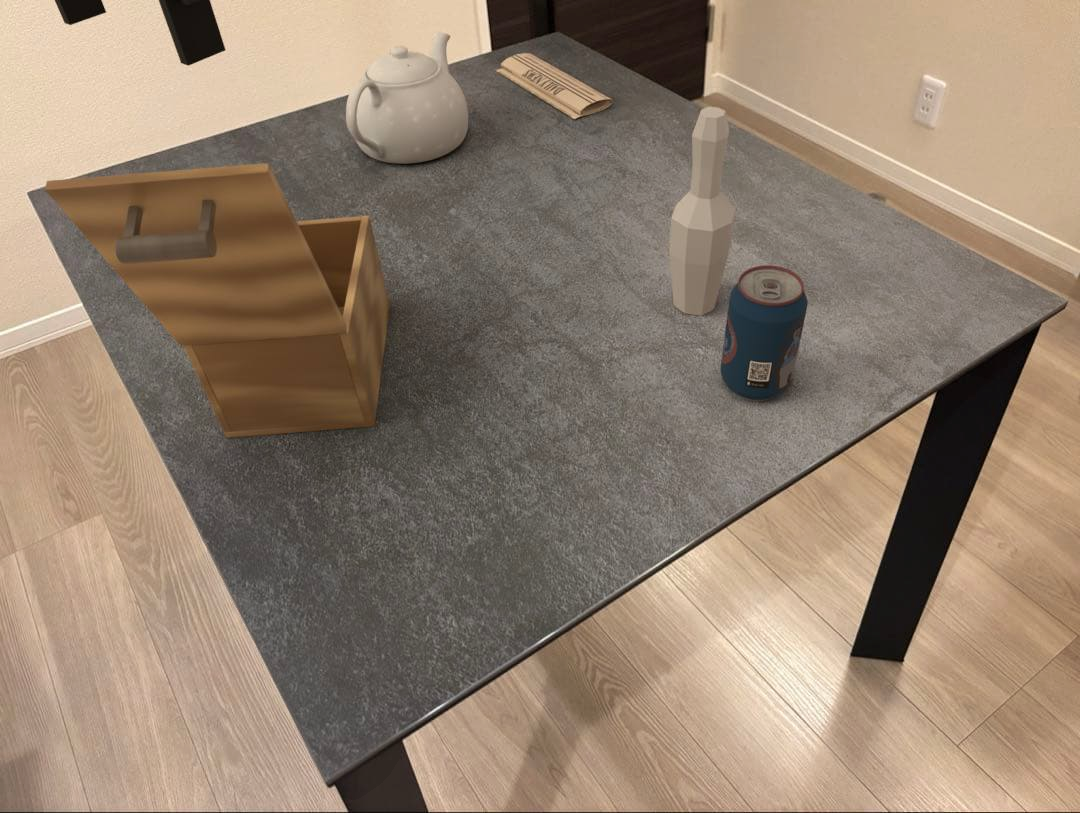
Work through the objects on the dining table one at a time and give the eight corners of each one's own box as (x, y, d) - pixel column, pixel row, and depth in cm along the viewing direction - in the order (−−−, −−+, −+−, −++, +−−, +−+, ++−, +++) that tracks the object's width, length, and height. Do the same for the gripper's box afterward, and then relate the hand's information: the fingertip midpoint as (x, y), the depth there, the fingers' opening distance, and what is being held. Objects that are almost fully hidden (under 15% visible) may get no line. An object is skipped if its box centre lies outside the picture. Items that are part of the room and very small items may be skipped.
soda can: (721, 355, 85) (733, 258, 77) (791, 362, 84) (811, 264, 76) (716, 402, 81) (729, 303, 72) (790, 410, 79) (811, 310, 71)
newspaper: (612, 106, 128) (612, 95, 127) (574, 120, 126) (574, 108, 124) (531, 60, 143) (530, 49, 141) (496, 71, 140) (495, 61, 139)
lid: (46, 180, 54) (31, 244, 52) (268, 162, 54) (262, 225, 52) (181, 338, 73) (174, 390, 70) (347, 325, 73) (345, 376, 70)
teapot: (343, 127, 128) (321, 37, 119) (457, 105, 132) (446, 15, 122) (360, 183, 116) (338, 87, 106) (487, 157, 119) (477, 62, 109)
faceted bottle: (706, 327, 89) (727, 134, 73) (655, 307, 92) (665, 118, 76) (734, 297, 92) (759, 106, 77) (684, 279, 95) (699, 92, 80)
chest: (263, 314, 95) (231, 226, 87) (390, 304, 95) (369, 215, 87) (226, 438, 81) (183, 346, 73) (374, 426, 81) (348, 333, 73)
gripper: (186, -460, 35) (312, 53, 49) (-73, -415, 46) (91, -12, 61) (14, -459, 31) (207, 100, 45) (-221, -410, 42) (-7, 20, 57)
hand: (141, 36), depth 53 cm, fingers open, 13 cm apart
